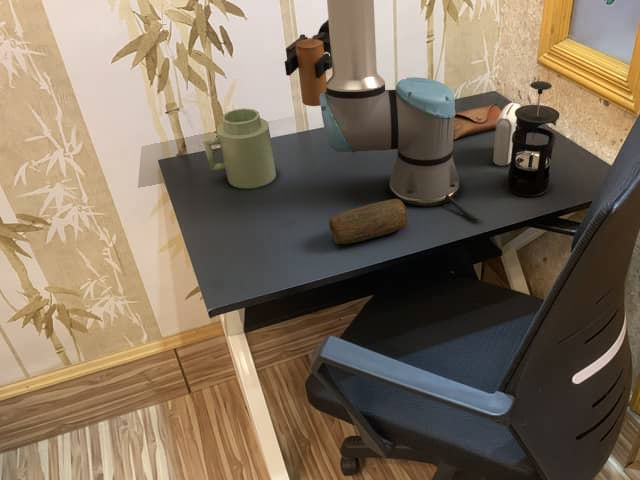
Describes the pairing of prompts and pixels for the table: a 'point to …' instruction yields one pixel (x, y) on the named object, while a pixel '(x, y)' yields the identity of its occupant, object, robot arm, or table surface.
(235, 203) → the table surface
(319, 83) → the brown cylindrical canister
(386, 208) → the brown wooden cylinder
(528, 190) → the french press
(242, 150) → the jug
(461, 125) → the sunglasses case
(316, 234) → the table surface
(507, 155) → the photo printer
